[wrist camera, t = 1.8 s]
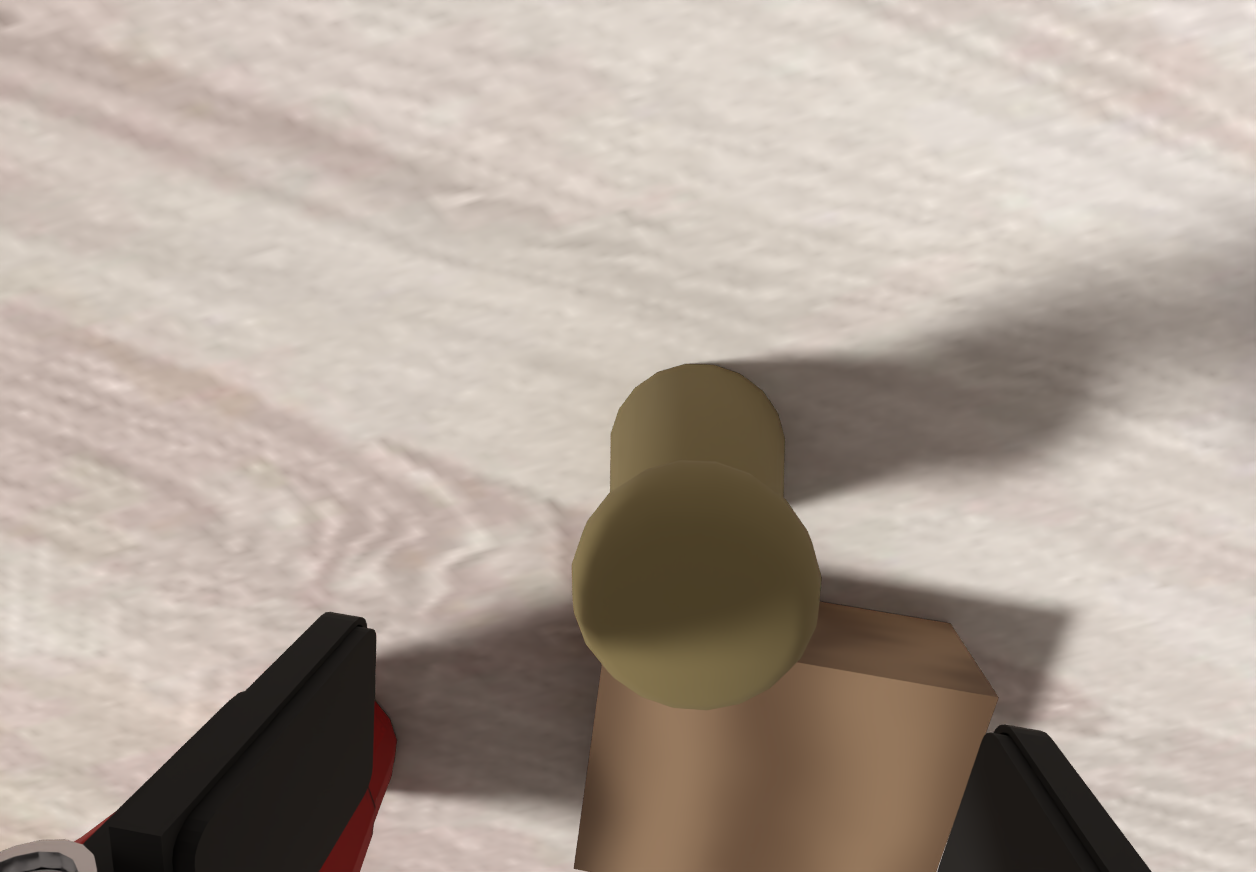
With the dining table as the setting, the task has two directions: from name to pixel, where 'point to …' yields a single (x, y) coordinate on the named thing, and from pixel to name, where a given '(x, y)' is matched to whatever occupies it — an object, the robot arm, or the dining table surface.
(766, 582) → the olive pawn figure
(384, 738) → the plastic cup
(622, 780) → the walnut plinth
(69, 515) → the dining table surface
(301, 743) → the robot arm
